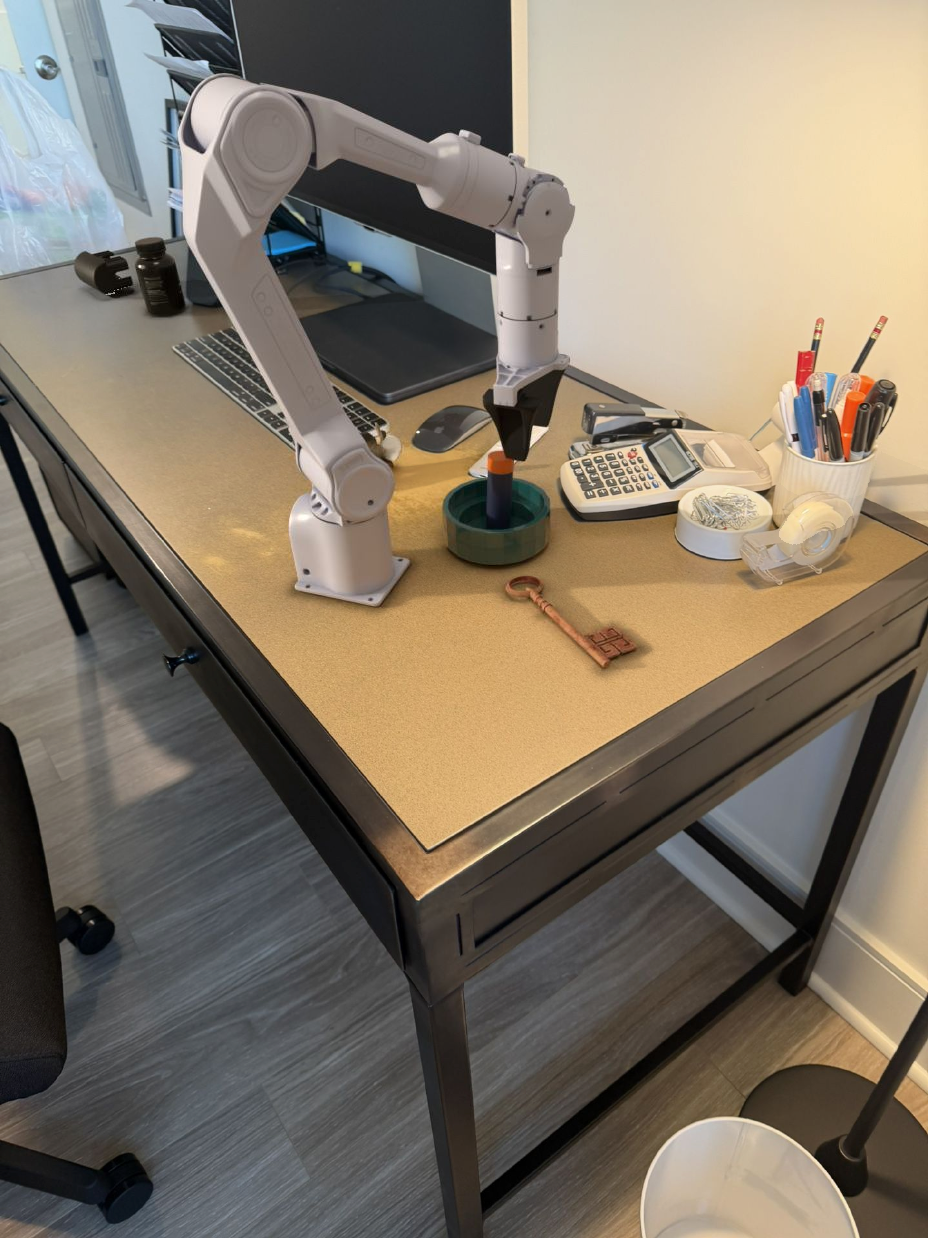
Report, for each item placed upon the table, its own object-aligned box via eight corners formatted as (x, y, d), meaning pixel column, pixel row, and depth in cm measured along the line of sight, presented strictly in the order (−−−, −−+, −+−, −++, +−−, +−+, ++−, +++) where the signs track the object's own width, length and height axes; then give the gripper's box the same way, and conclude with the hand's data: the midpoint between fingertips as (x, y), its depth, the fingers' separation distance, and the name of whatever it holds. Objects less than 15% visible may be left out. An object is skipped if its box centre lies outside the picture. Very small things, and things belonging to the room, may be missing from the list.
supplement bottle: (194, 307, 155) (178, 237, 147) (166, 319, 150) (147, 248, 143) (168, 302, 158) (150, 232, 150) (139, 313, 153) (119, 243, 146)
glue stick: (481, 537, 91) (484, 459, 86) (490, 525, 93) (492, 448, 88) (505, 541, 90) (509, 463, 85) (513, 530, 92) (517, 452, 87)
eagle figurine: (365, 442, 108) (305, 455, 103) (386, 405, 103) (324, 417, 97) (395, 491, 107) (335, 506, 101) (418, 456, 101) (356, 470, 96)
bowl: (429, 558, 90) (426, 522, 87) (466, 504, 98) (465, 470, 95) (531, 577, 87) (531, 540, 84) (561, 520, 95) (562, 484, 92)
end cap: (80, 290, 165) (69, 254, 161) (115, 281, 169) (105, 245, 164) (100, 302, 159) (89, 264, 155) (136, 293, 163) (126, 256, 158)
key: (640, 655, 77) (547, 572, 87) (642, 647, 77) (548, 564, 87) (588, 674, 75) (498, 586, 85) (589, 666, 74) (499, 579, 84)
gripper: (546, 342, 74) (544, 480, 83) (589, 288, 84) (583, 415, 93) (470, 335, 76) (476, 470, 85) (520, 282, 87) (521, 408, 95)
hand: (527, 441), depth 89 cm, fingers open, 7 cm apart
